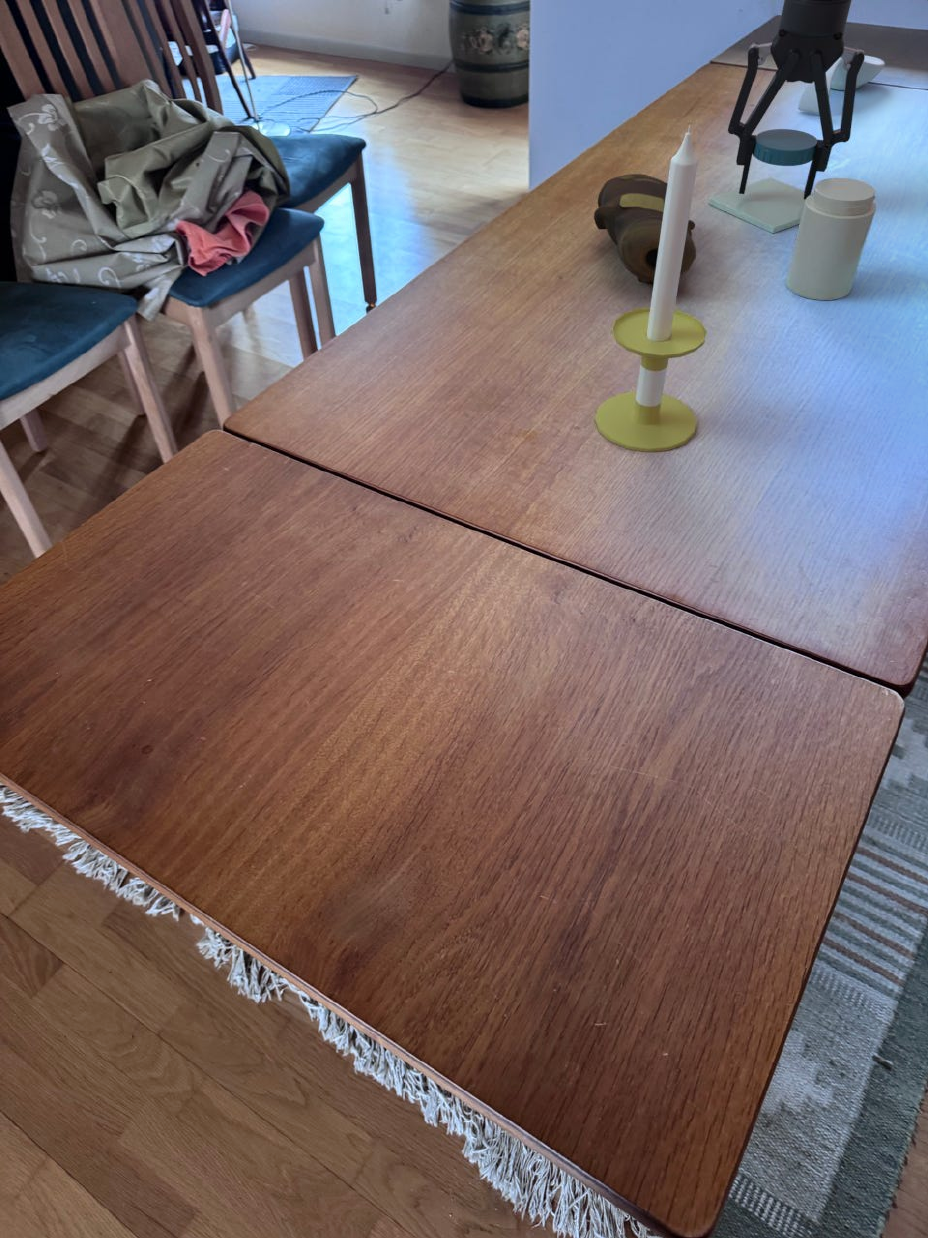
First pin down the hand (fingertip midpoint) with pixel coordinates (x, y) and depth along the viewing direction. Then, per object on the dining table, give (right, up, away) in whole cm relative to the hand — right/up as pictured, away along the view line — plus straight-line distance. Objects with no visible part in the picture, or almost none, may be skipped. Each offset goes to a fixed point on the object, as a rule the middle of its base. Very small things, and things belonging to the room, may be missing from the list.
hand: (774, 192), depth 119 cm
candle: (-24, -38, -32) cm, 55 cm away
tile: (0, -1, +1) cm, 2 cm away
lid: (0, +4, -5) cm, 6 cm away
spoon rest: (+21, +32, +32) cm, 50 cm away
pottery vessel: (-20, -13, -8) cm, 25 cm away
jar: (0, -18, -14) cm, 23 cm away
